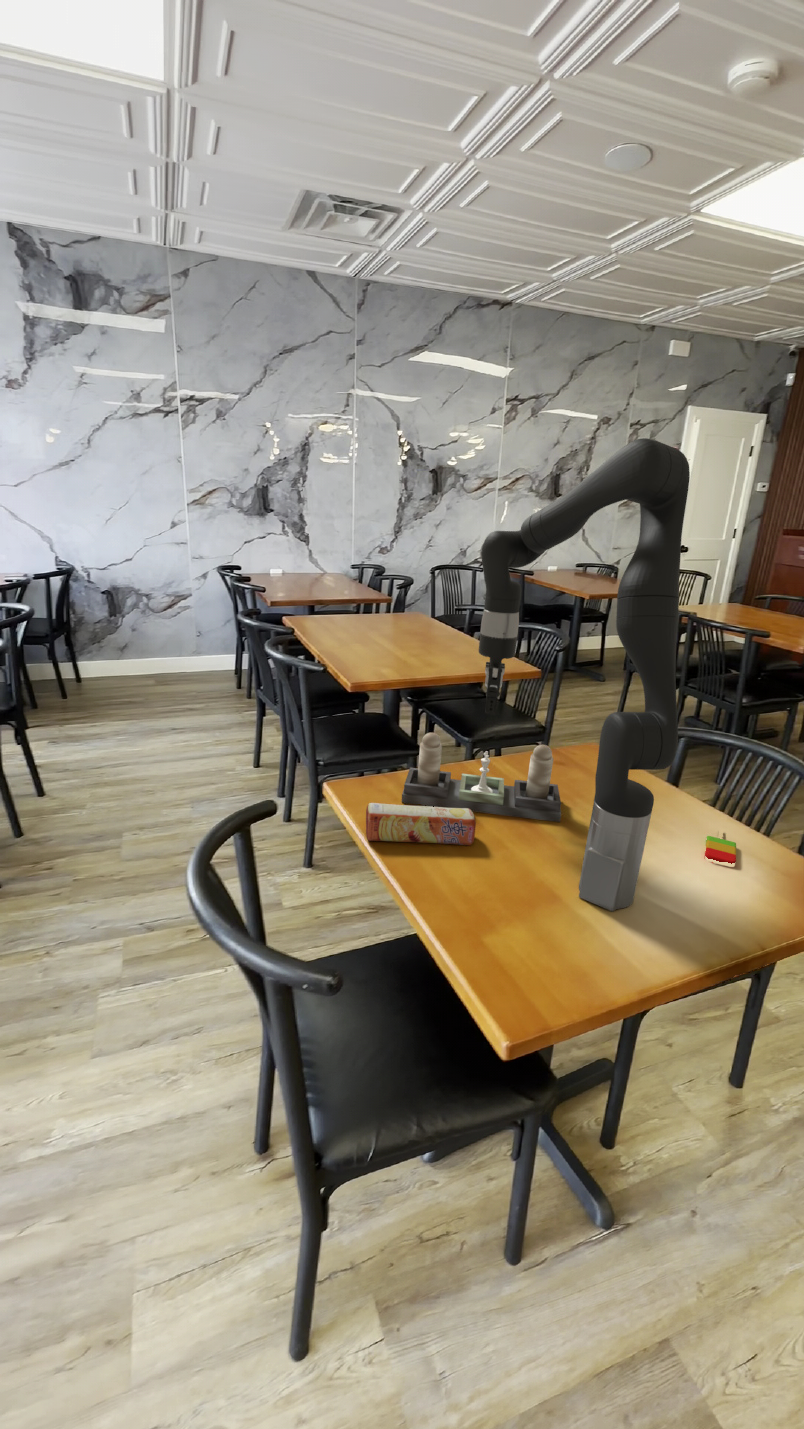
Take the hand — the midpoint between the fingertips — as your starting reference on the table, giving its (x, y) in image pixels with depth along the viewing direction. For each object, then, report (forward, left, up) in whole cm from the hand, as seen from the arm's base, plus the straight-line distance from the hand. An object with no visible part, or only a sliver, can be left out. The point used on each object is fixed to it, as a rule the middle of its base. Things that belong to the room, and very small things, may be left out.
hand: (490, 707), depth 138 cm
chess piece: (0, 0, -20) cm, 20 cm away
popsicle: (+18, -46, -23) cm, 54 cm away
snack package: (-22, 0, -22) cm, 32 cm away
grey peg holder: (0, 0, -22) cm, 22 cm away
